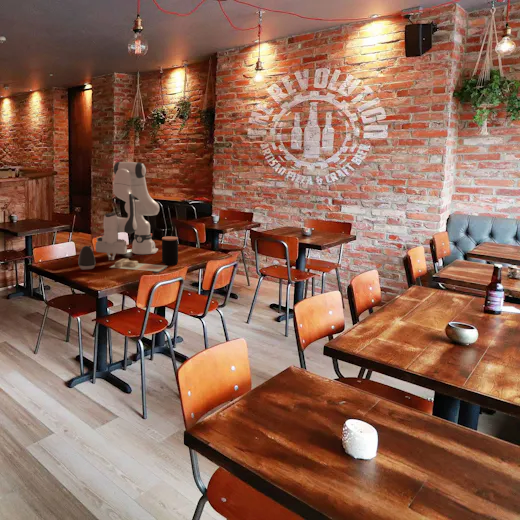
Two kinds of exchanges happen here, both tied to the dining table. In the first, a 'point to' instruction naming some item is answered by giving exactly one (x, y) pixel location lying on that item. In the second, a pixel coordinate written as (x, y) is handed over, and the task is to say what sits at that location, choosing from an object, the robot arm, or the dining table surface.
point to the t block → (126, 263)
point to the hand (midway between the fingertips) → (111, 259)
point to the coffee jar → (170, 250)
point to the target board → (145, 267)
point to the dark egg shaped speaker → (86, 258)
